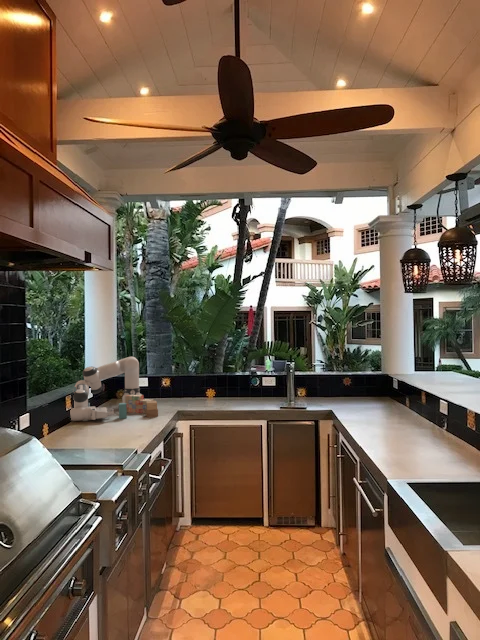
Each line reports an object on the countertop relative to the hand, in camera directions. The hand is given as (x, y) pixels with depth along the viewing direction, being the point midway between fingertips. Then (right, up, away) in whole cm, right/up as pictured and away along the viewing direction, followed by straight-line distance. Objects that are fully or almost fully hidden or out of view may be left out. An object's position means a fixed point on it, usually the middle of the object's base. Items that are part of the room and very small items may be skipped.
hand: (113, 411), depth 334 cm
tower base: (+25, -5, +8) cm, 27 cm away
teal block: (+6, -5, +2) cm, 8 cm away
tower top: (+25, 0, +8) cm, 26 cm away
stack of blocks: (+13, -5, +24) cm, 28 cm away
